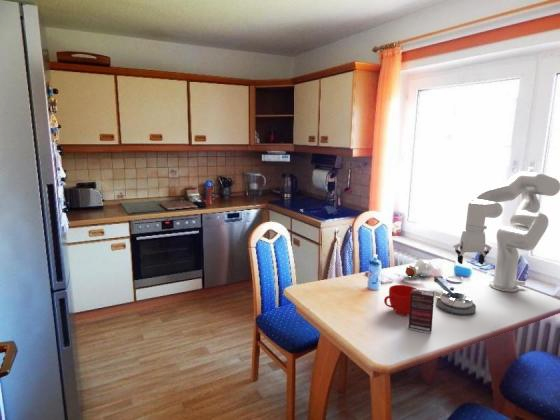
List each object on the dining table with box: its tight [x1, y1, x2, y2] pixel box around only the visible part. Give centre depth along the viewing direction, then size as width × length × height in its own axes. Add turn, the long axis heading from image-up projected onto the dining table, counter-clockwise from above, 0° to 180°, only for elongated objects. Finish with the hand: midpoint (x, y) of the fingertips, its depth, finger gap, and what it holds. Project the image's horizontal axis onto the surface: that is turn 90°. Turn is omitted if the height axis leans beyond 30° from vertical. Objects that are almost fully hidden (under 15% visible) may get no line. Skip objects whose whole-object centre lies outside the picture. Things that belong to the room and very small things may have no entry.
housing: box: [434, 295, 477, 317], centre depth 167 cm, size 16×16×2 cm
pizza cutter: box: [433, 275, 474, 309], centre depth 174 cm, size 13×28×5 cm, turn 179°
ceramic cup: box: [383, 284, 417, 316], centre depth 161 cm, size 13×17×10 cm
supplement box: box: [408, 288, 435, 334], centre depth 147 cm, size 9×5×16 cm, turn 65°
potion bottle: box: [405, 258, 434, 278], centre depth 204 cm, size 9×10×15 cm
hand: (470, 263), depth 176 cm, fingers open, 9 cm apart
